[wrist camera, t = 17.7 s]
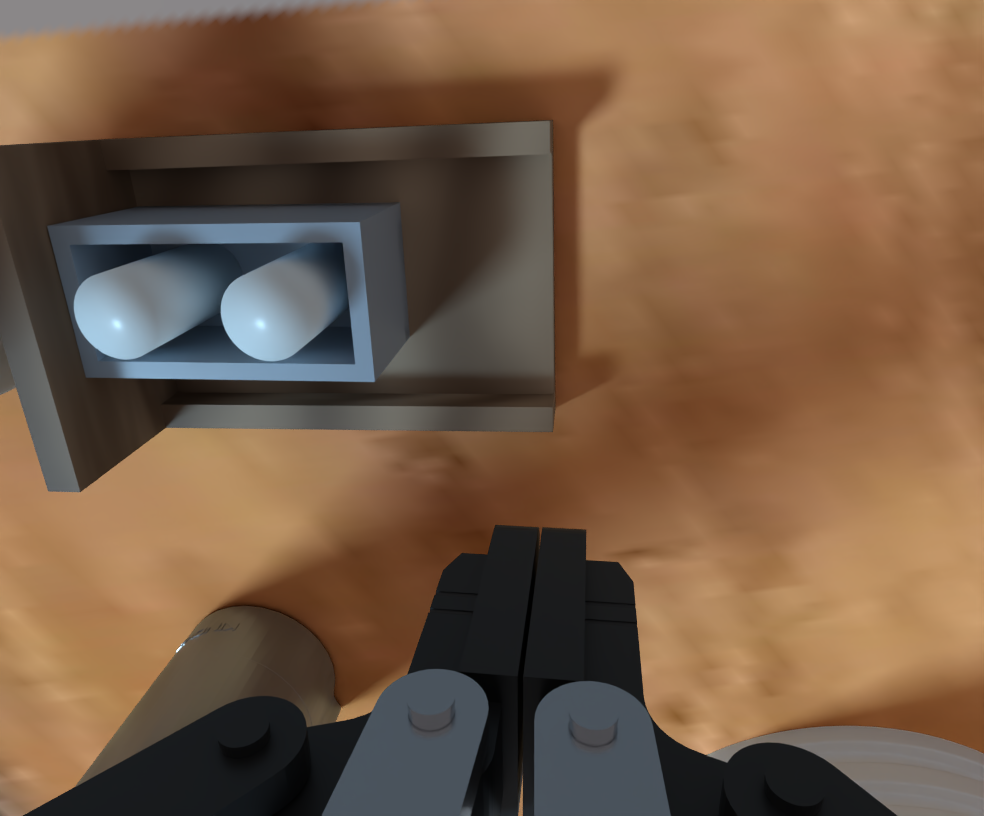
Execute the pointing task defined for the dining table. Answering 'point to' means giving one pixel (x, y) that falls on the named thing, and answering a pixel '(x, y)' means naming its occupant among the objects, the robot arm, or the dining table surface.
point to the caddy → (236, 291)
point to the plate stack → (894, 766)
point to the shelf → (298, 180)
